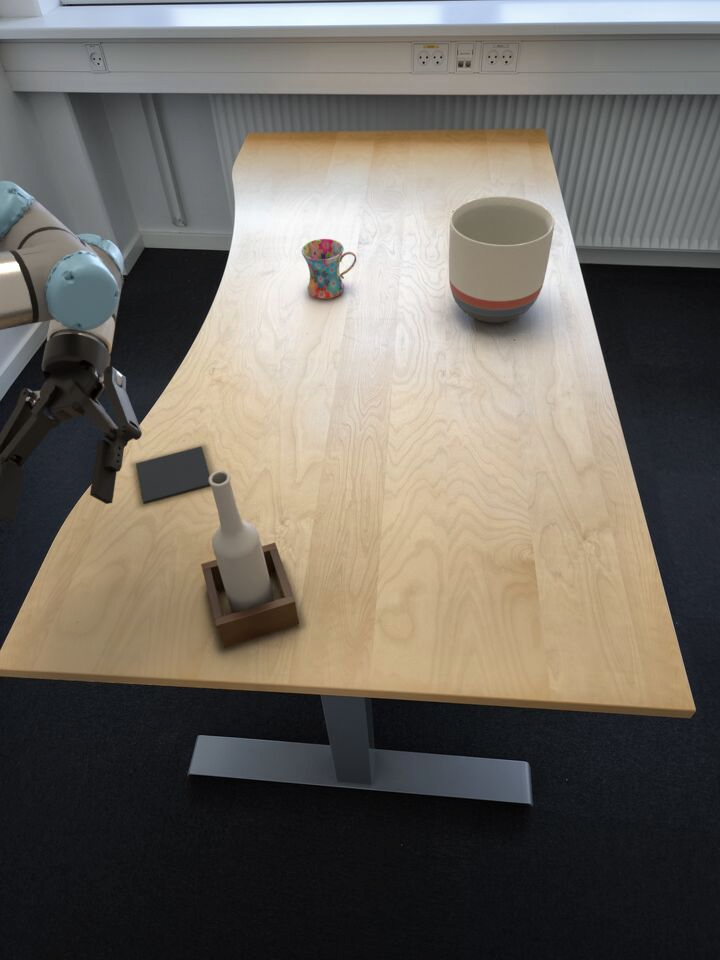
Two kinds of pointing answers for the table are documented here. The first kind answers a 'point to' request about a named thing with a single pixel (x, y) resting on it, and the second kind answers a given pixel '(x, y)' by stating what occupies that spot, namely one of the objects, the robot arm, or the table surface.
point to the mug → (325, 267)
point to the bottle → (238, 551)
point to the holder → (255, 618)
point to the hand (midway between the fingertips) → (51, 509)
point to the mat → (173, 474)
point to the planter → (498, 256)
